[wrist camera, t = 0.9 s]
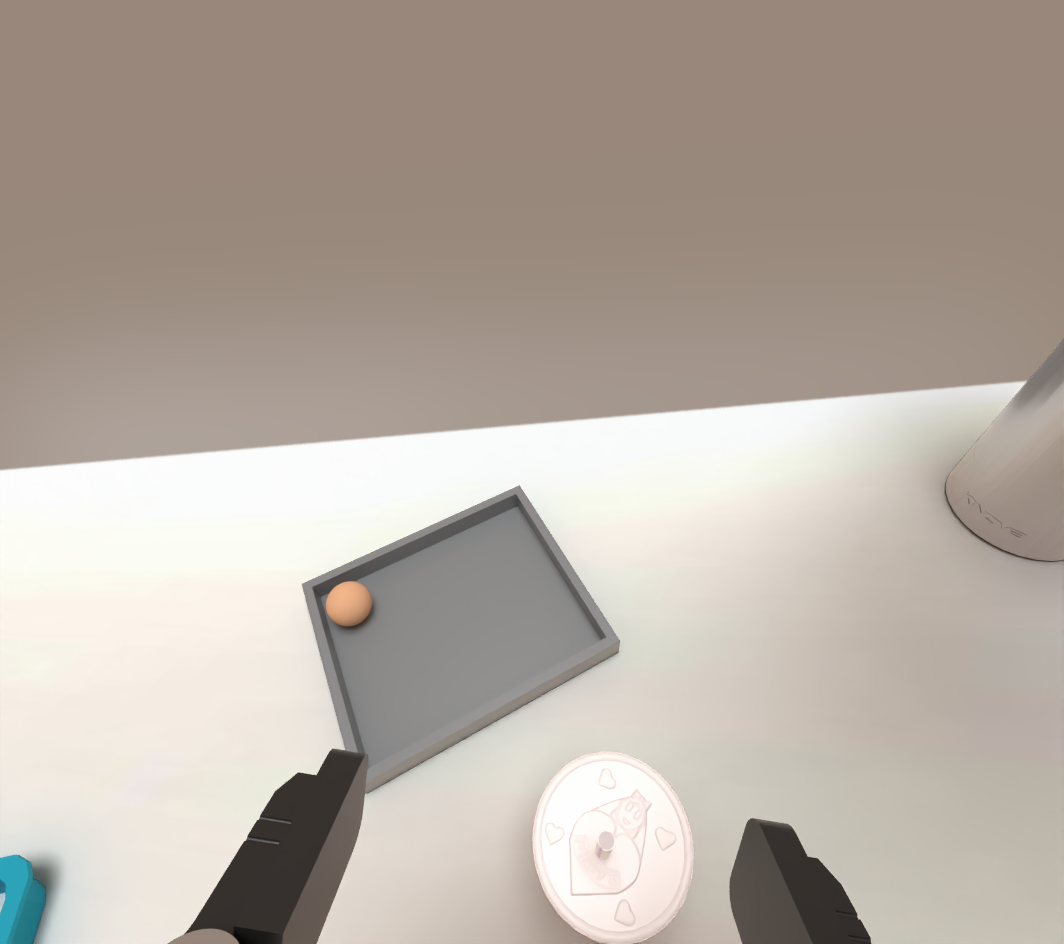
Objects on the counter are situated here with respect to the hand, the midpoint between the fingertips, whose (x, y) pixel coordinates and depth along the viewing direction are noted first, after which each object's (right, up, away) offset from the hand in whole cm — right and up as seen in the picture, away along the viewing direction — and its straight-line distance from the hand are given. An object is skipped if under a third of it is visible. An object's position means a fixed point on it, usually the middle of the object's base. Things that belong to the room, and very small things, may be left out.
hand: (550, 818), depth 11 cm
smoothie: (+3, -13, +18) cm, 22 cm away
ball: (-13, -3, +27) cm, 30 cm away
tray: (-6, -3, +26) cm, 27 cm away
